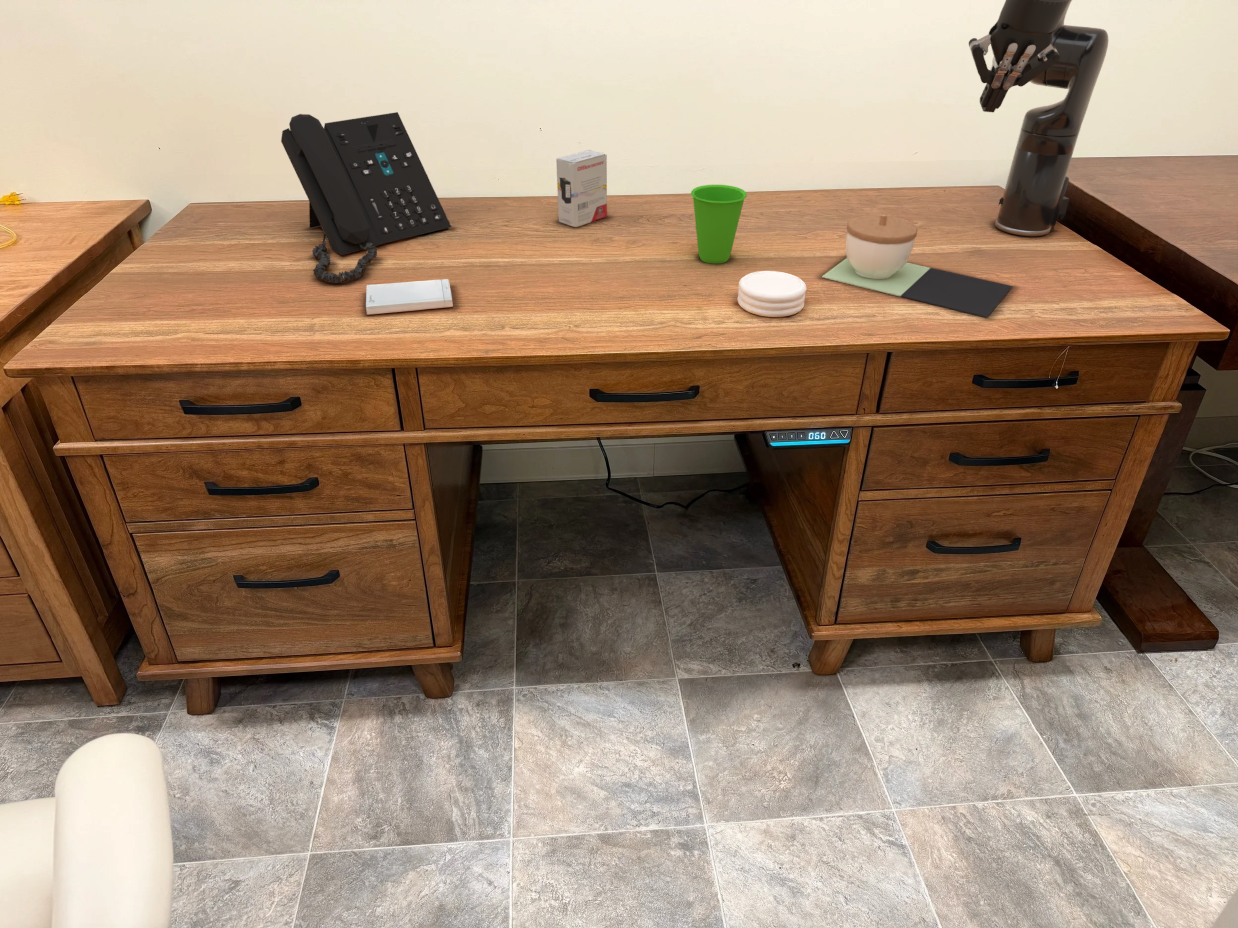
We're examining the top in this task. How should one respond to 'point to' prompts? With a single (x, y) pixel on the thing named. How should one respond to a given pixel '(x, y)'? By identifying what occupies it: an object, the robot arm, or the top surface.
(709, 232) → the cup
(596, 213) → the ink box
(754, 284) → the white round stack
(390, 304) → the hard drive
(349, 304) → the top surface
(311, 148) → the office phone
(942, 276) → the runner mat
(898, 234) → the trinket box
